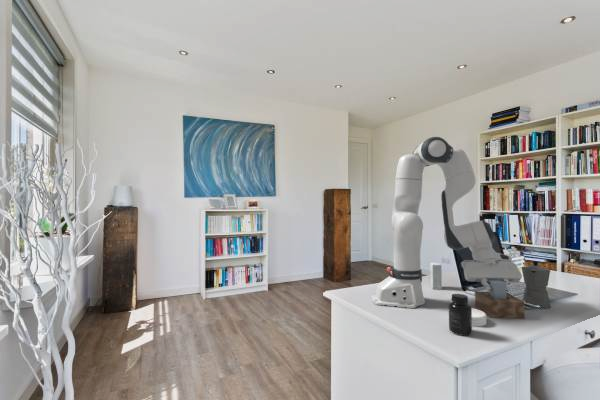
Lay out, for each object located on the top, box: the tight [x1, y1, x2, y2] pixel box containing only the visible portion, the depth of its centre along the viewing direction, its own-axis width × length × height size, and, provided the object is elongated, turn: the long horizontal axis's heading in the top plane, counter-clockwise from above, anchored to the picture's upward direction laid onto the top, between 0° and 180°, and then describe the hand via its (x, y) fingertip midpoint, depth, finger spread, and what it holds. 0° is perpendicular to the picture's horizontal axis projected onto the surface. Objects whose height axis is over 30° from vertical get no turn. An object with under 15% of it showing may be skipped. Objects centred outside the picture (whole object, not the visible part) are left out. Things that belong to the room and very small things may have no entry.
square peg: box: [489, 280, 507, 299], centre depth 118 cm, size 4×4×9 cm
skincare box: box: [429, 262, 443, 290], centre depth 152 cm, size 6×4×12 cm
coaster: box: [471, 307, 488, 327], centre depth 110 cm, size 10×10×4 cm
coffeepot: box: [521, 260, 552, 310], centre depth 126 cm, size 15×9×18 cm, turn 136°
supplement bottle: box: [448, 293, 473, 336], centre depth 101 cm, size 7×7×12 cm
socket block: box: [474, 291, 526, 319], centre depth 118 cm, size 12×12×6 cm
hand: (498, 290), depth 118 cm, fingers open, 4 cm apart
